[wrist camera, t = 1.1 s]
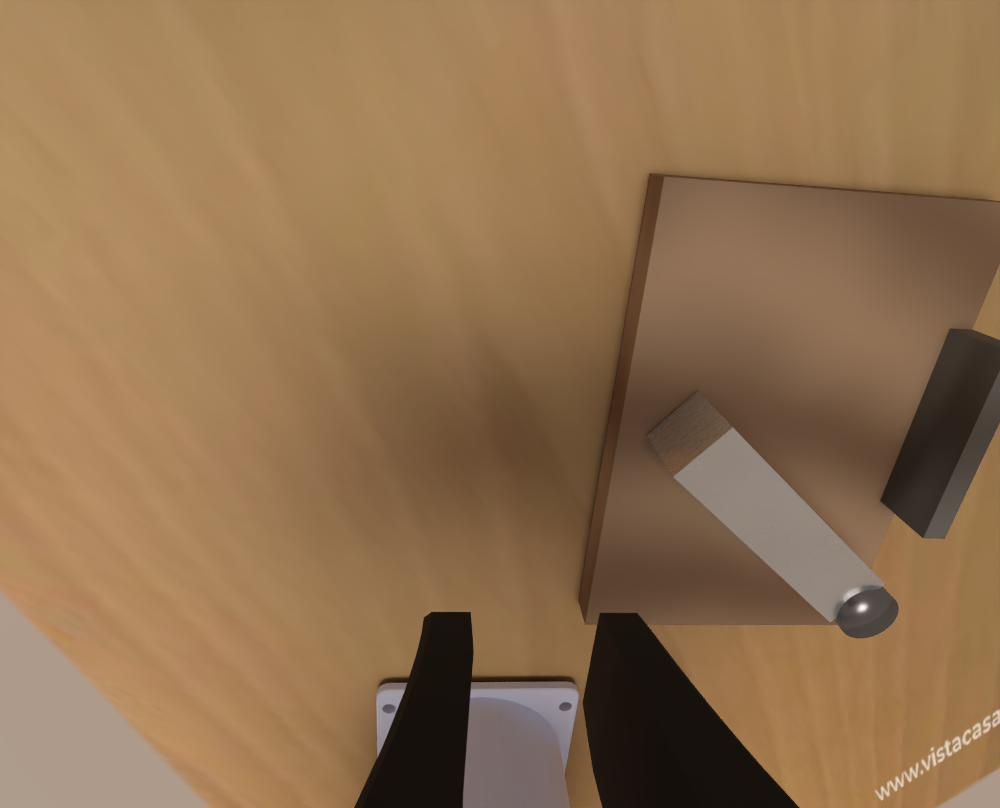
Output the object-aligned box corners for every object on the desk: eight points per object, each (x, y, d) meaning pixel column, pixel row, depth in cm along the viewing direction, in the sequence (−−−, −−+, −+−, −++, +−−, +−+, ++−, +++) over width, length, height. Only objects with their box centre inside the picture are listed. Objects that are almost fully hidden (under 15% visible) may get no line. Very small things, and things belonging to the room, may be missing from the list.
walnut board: (828, 601, 23) (882, 668, 20) (578, 600, 22) (597, 670, 19) (987, 199, 17) (1099, 213, 14) (649, 173, 16) (694, 182, 13)
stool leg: (859, 557, 21) (911, 612, 18) (811, 591, 21) (856, 648, 19) (697, 390, 17) (736, 431, 15) (646, 434, 18) (675, 481, 16)
